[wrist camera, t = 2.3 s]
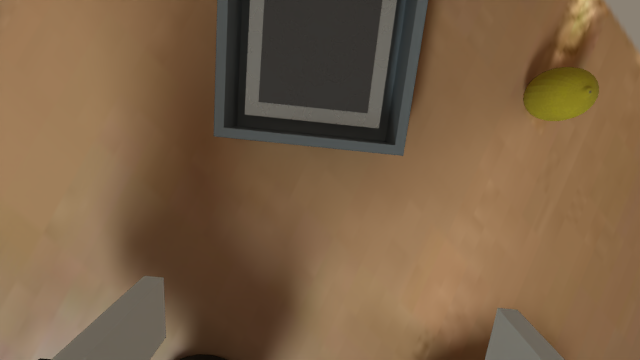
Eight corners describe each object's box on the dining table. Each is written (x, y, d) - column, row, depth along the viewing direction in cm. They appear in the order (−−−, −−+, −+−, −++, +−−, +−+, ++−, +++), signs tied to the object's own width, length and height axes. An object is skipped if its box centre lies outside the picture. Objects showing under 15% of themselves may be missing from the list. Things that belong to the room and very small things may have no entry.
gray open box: (390, 149, 38) (404, 156, 31) (230, 133, 37) (211, 136, 31) (418, -33, 33) (440, -68, 27) (238, -53, 33) (217, -94, 27)
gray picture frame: (377, 128, 35) (379, 128, 33) (246, 114, 34) (244, 114, 33) (397, -17, 31) (400, -22, 30) (254, -33, 31) (251, -39, 30)
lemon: (528, 129, 37) (583, 133, 29) (499, 97, 36) (548, 92, 28) (565, 96, 36) (632, 91, 28) (536, 62, 35) (597, 47, 28)
